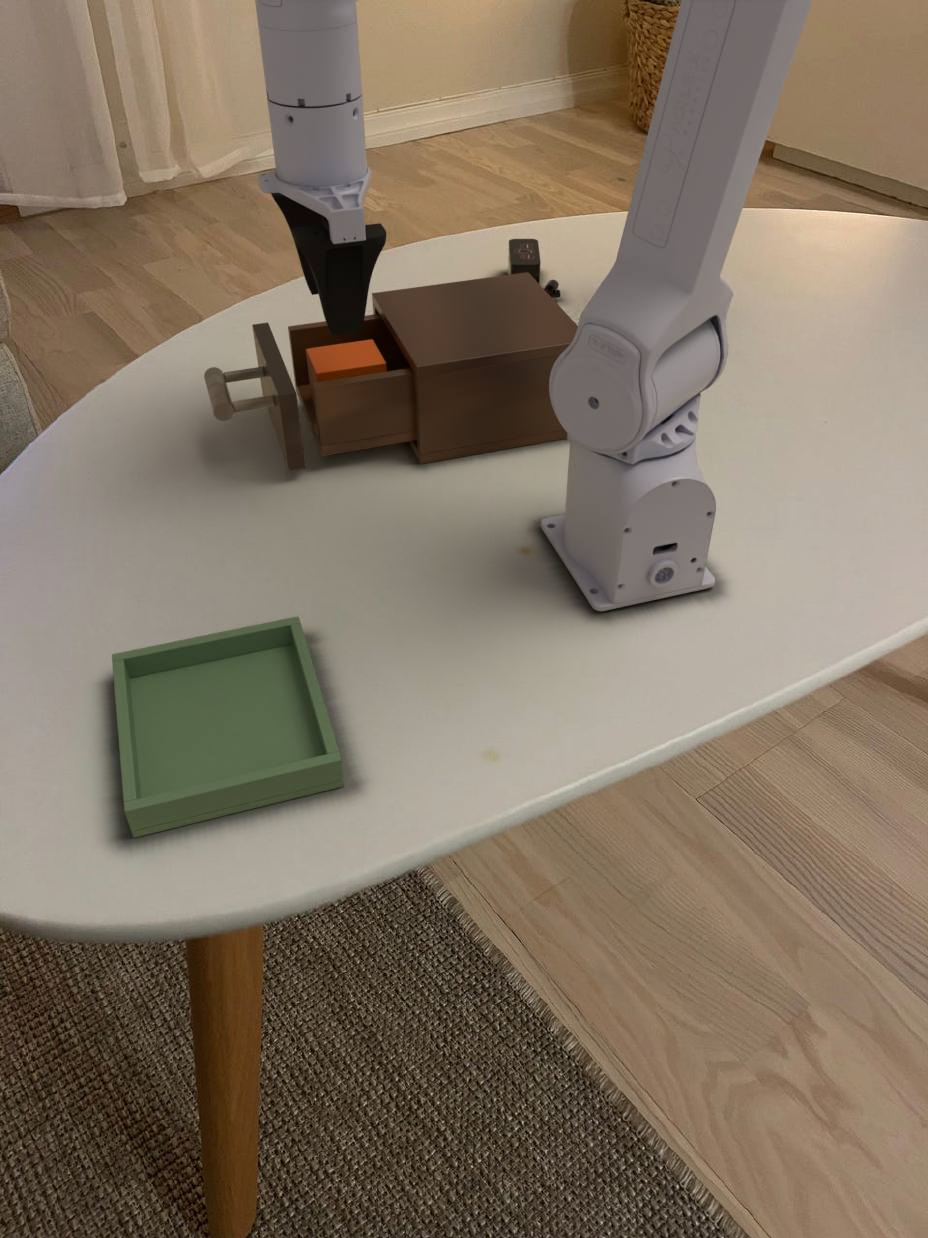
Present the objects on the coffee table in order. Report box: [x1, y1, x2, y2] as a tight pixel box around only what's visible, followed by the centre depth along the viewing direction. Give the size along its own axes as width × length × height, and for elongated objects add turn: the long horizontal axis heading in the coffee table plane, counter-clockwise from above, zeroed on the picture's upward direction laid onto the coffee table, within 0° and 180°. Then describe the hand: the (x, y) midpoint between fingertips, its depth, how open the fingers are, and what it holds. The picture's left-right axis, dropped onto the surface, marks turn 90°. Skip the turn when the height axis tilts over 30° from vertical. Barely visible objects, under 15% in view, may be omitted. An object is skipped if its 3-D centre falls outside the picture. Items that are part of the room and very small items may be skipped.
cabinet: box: [371, 272, 578, 465], centre depth 76 cm, size 13×13×8 cm
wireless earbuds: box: [507, 238, 561, 299], centre depth 95 cm, size 5×7×3 cm, turn 179°
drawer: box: [203, 314, 417, 472], centre depth 73 cm, size 16×11×6 cm
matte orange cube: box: [306, 339, 387, 405], centre depth 74 cm, size 4×5×4 cm
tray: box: [111, 616, 346, 838], centre depth 52 cm, size 11×10×2 cm
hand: (335, 310), depth 70 cm, fingers open, 6 cm apart
